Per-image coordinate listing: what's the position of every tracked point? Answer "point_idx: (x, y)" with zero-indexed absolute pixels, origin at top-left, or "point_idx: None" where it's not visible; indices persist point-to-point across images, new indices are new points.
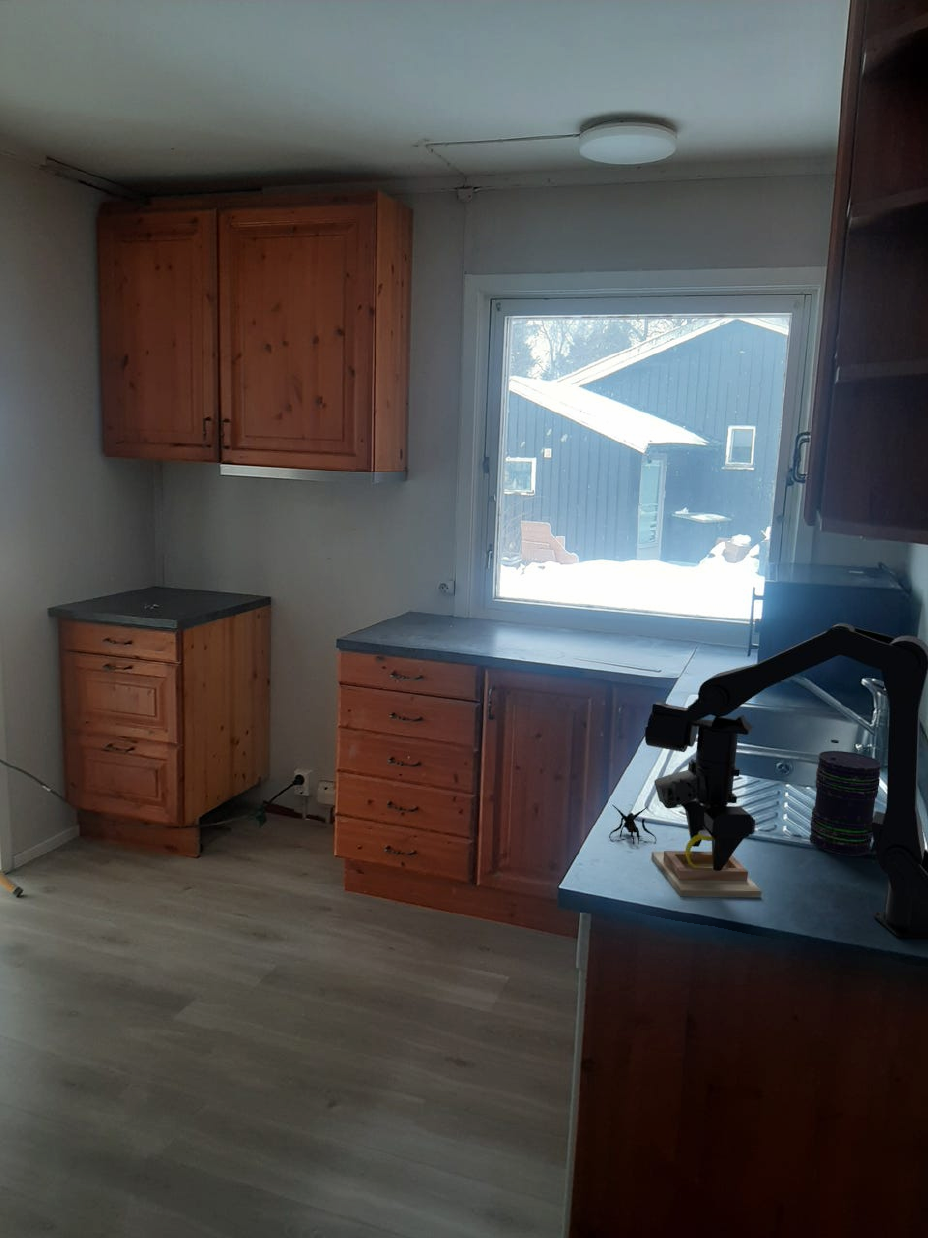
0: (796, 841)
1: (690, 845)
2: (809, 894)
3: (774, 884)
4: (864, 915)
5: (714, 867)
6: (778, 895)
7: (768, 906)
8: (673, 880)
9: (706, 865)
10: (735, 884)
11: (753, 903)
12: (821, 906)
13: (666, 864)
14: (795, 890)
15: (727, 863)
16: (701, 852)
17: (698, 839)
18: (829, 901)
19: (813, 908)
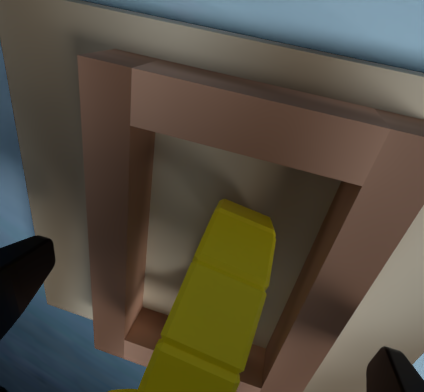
0: None
1: (186, 283)
2: (93, 382)
3: None
4: (12, 385)
5: (17, 242)
6: (82, 331)
7: None
8: (122, 12)
9: (270, 291)
10: (85, 269)
11: None
12: (36, 359)
13: (355, 102)
14: (113, 376)
15: None
16: (319, 337)
17: (146, 375)
18: (63, 385)
19: (23, 342)
